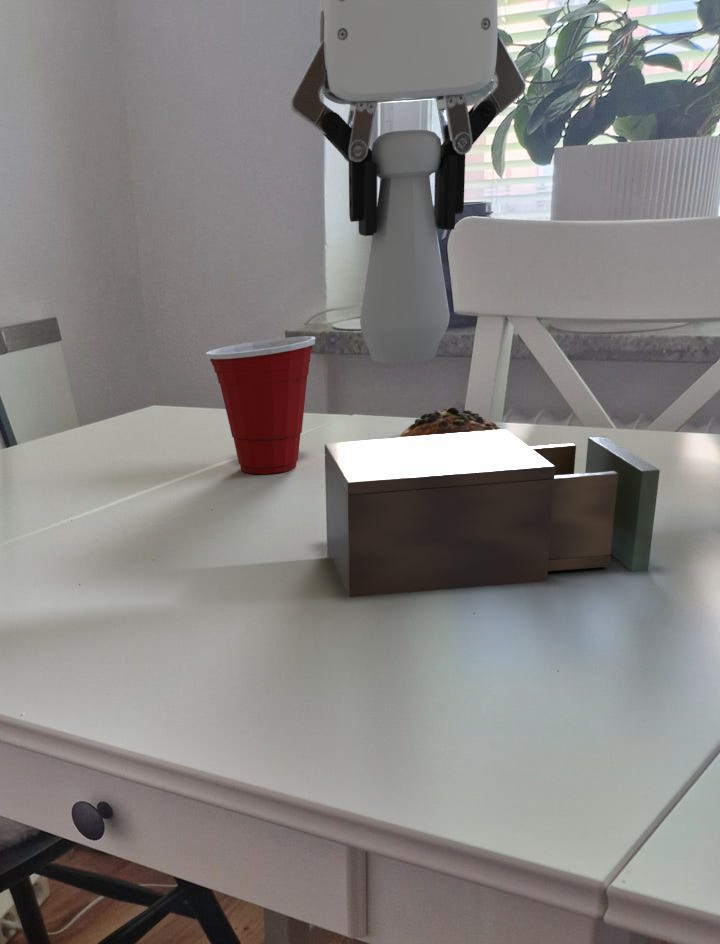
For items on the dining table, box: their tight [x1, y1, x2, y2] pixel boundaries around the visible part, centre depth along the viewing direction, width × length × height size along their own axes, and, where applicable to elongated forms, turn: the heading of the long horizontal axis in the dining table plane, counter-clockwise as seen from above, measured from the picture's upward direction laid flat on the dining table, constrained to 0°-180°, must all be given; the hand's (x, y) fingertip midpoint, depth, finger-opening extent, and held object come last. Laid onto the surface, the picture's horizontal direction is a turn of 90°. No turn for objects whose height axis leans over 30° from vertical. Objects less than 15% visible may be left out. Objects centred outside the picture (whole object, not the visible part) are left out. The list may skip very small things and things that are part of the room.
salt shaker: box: [359, 129, 451, 365], centre depth 74 cm, size 6×6×13 cm
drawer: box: [529, 435, 661, 573], centre depth 83 cm, size 14×11×7 cm
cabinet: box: [324, 429, 555, 598], centre depth 83 cm, size 14×13×9 cm
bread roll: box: [399, 406, 501, 438], centre depth 119 cm, size 11×11×5 cm
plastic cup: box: [205, 335, 316, 475], centre depth 115 cm, size 11×11×12 cm
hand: (405, 228), depth 74 cm, fingers closed on salt shaker, 4 cm apart
